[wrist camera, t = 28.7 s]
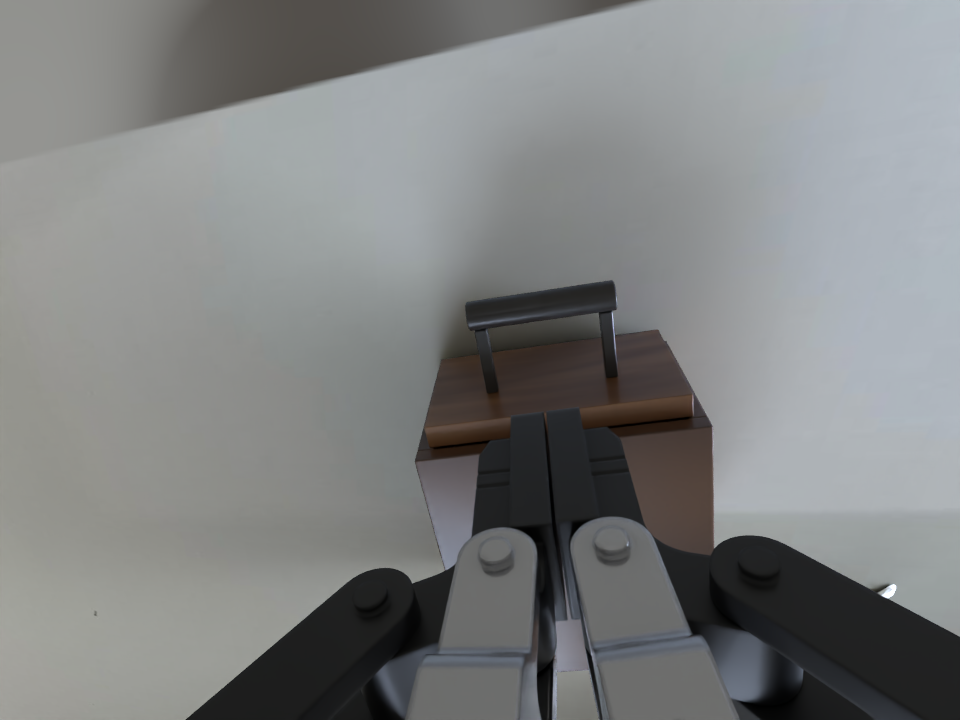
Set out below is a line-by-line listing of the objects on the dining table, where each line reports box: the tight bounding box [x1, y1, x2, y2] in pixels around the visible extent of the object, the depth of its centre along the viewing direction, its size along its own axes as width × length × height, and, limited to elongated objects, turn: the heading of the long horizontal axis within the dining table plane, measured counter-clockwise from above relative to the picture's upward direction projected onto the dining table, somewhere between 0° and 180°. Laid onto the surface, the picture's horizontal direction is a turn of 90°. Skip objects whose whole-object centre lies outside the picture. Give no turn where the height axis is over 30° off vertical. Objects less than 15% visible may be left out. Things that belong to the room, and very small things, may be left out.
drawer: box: [424, 280, 694, 448], centre depth 33 cm, size 20×12×7 cm, turn 10°
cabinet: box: [415, 341, 714, 672], centre depth 35 cm, size 16×14×9 cm
